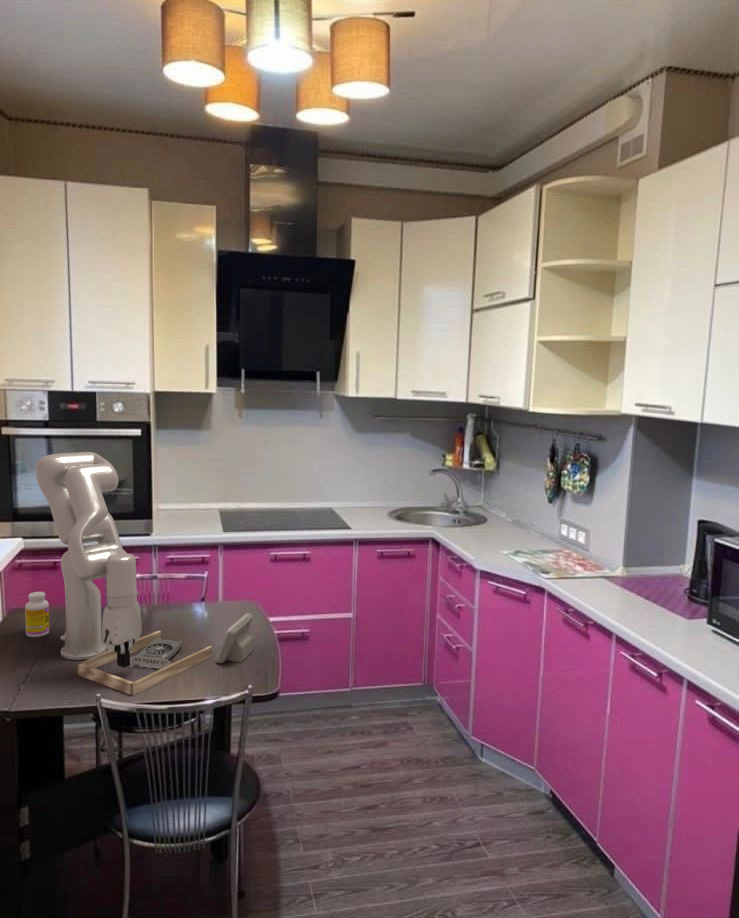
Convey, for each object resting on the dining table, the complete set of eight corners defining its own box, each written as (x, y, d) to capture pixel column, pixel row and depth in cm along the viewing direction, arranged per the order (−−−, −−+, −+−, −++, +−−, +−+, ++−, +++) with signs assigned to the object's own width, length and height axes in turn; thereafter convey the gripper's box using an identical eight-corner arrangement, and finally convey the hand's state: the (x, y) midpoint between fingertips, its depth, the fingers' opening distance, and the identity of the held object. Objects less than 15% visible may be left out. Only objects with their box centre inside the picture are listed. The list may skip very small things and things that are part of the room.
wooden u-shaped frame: (76, 674, 184) (76, 664, 184) (158, 639, 210) (158, 630, 210) (133, 695, 174) (132, 684, 173) (212, 656, 199) (212, 646, 199)
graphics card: (169, 661, 188) (128, 657, 189) (169, 674, 188) (128, 669, 190) (192, 639, 204) (154, 635, 206) (191, 651, 205) (154, 647, 206)
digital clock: (239, 642, 210) (239, 609, 209) (263, 648, 207) (264, 614, 205) (206, 662, 195) (206, 626, 194) (232, 668, 192) (233, 632, 191)
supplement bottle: (48, 636, 209) (47, 596, 208) (24, 639, 207) (23, 598, 205) (50, 628, 216) (49, 589, 214) (27, 631, 213) (25, 591, 211)
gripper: (134, 590, 190) (135, 653, 192) (89, 605, 177) (91, 672, 179) (153, 595, 186) (154, 659, 188) (108, 610, 173) (110, 678, 175)
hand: (123, 665), depth 183 cm, fingers closed
